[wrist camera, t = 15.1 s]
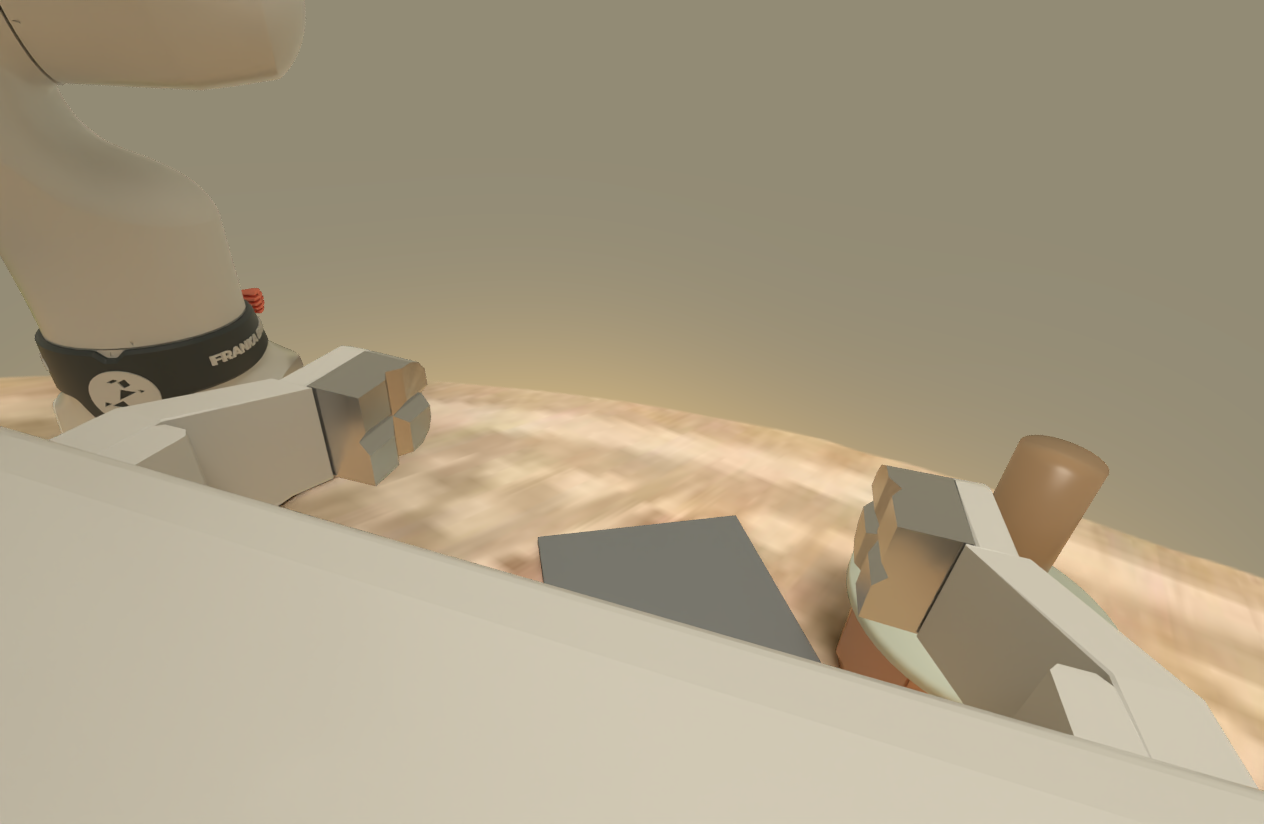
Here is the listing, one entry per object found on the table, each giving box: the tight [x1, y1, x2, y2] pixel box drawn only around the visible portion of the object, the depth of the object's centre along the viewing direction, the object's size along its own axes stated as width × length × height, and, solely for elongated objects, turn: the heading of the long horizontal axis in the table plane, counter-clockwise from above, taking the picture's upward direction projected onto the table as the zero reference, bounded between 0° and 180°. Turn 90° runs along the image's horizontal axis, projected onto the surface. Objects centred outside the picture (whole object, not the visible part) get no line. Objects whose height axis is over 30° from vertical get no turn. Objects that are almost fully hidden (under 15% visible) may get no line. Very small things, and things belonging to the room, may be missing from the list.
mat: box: [538, 515, 821, 663], centre depth 38 cm, size 16×16×1 cm
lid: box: [846, 435, 1118, 704], centre depth 30 cm, size 14×14×11 cm
